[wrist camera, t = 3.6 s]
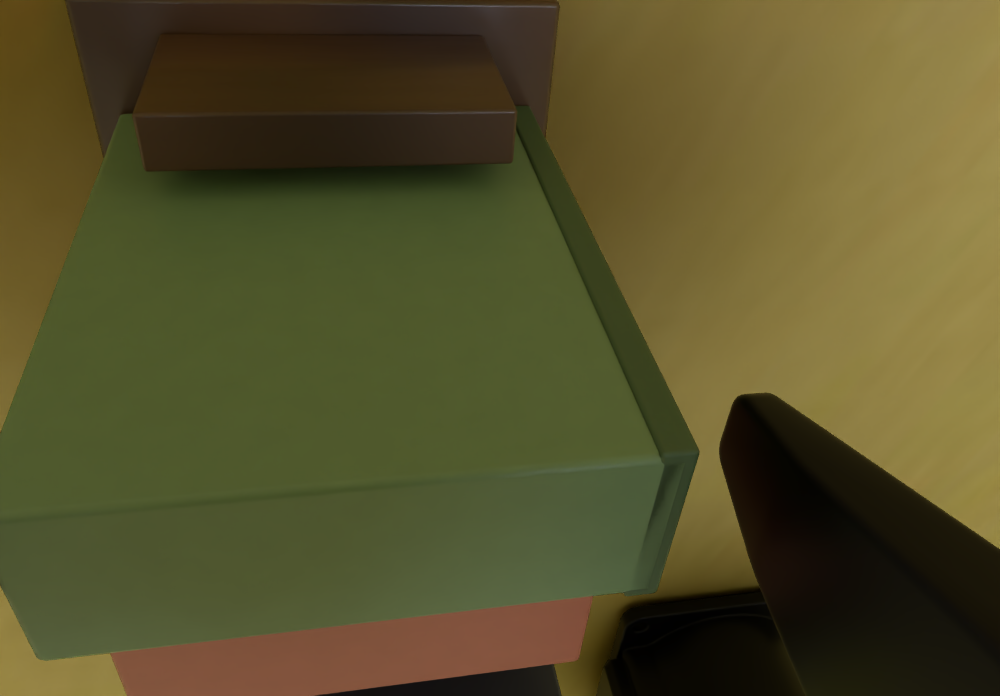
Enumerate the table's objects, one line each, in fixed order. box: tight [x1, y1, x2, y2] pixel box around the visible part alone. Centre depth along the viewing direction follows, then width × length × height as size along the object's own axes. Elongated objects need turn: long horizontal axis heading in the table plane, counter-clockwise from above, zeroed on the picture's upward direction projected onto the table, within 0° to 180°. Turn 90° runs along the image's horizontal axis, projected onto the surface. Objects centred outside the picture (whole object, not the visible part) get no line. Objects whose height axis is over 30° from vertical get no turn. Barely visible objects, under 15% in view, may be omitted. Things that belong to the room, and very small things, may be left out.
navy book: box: [315, 664, 562, 696], centre depth 16 cm, size 6×2×7 cm, turn 85°
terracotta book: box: [110, 596, 593, 696], centre depth 14 cm, size 6×2×7 cm, turn 85°
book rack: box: [65, 0, 560, 172], centre depth 15 cm, size 7×13×7 cm, turn 175°
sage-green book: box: [0, 106, 699, 661], centre depth 11 cm, size 6×2×8 cm, turn 86°
